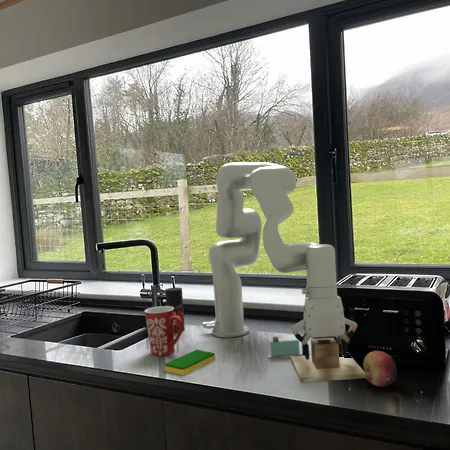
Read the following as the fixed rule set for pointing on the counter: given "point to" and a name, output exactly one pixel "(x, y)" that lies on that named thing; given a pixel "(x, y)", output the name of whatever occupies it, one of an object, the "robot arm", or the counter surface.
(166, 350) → the mug
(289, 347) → the bar
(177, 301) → the deodorant
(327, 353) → the block
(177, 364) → the dish sponge
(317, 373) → the seat
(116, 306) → the counter surface
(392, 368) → the fruit
